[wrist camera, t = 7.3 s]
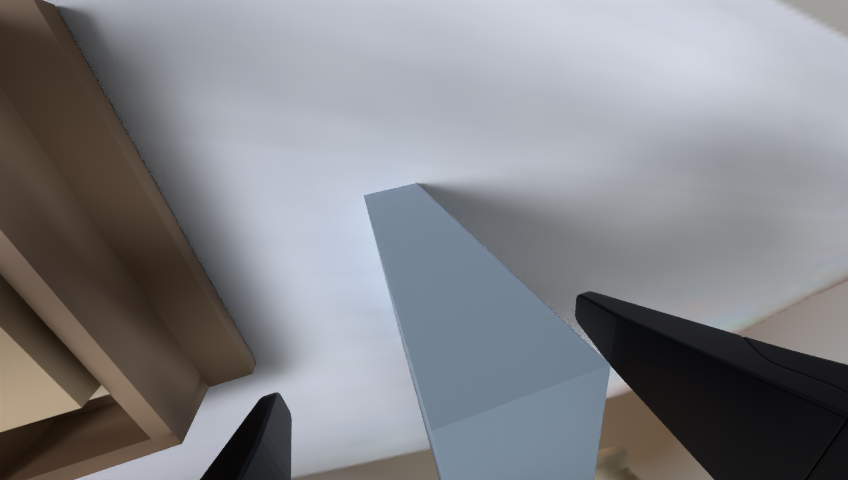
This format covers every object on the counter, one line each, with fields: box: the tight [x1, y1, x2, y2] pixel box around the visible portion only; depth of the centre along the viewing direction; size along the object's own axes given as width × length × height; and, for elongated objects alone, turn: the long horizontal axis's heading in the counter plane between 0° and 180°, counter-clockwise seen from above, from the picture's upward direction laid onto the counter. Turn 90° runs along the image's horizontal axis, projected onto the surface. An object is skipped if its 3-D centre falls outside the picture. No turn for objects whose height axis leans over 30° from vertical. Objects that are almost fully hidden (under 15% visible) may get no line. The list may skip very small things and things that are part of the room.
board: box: [364, 183, 610, 480], centre depth 9 cm, size 7×2×9 cm, turn 10°
